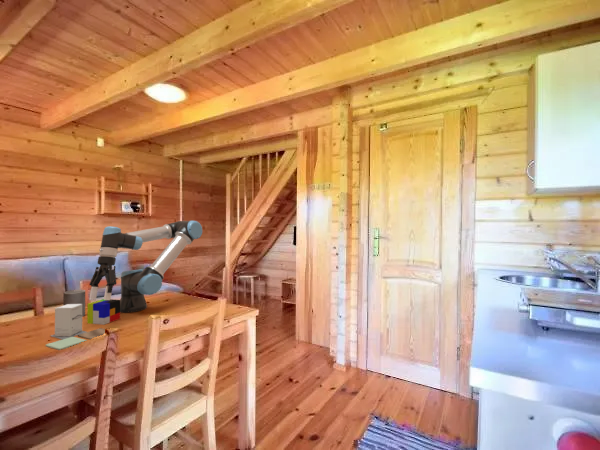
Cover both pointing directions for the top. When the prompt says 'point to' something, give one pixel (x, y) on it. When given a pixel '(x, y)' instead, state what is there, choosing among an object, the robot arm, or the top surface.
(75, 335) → the tile
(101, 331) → the walnut pad
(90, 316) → the puzzle toy
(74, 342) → the sage pad
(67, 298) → the pillar candle
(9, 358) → the top surface
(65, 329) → the supplement box
